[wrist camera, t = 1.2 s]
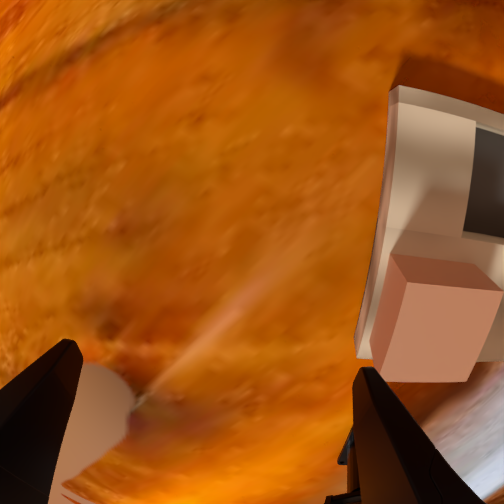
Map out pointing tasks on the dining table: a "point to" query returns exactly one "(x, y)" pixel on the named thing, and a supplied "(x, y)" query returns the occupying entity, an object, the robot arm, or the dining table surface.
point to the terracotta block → (432, 319)
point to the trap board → (439, 197)
